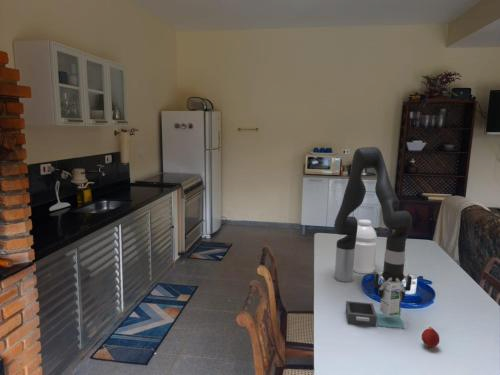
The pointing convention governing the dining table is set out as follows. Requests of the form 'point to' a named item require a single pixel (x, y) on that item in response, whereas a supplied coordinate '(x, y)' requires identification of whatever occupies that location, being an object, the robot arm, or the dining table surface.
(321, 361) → the dining table surface
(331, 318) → the dining table surface
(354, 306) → the gray frame
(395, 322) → the teal mat
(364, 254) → the bottle
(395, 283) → the syrup box
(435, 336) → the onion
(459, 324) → the dining table surface
